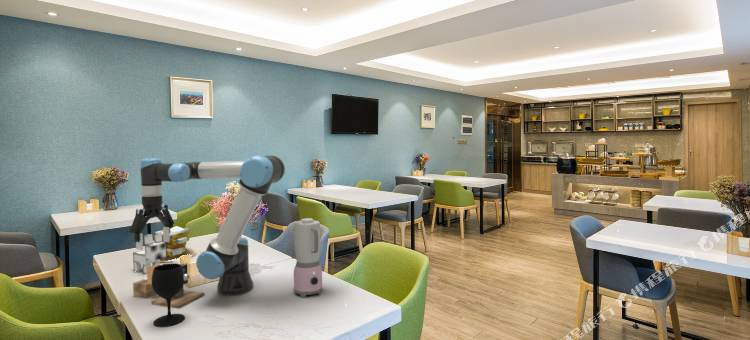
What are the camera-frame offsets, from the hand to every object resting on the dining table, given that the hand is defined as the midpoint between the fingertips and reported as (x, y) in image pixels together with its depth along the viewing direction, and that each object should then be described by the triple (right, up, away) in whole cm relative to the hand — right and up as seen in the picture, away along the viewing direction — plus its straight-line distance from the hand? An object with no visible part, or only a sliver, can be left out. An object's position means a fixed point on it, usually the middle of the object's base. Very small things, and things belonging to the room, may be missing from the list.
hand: (153, 245), depth 167 cm
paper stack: (-24, -19, +62) cm, 70 cm away
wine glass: (+18, -23, -22) cm, 37 cm away
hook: (+8, -16, -1) cm, 18 cm away
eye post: (+12, -21, -2) cm, 24 cm away
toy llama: (-22, -20, +36) cm, 47 cm away
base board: (+12, -22, -2) cm, 25 cm away
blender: (+65, -22, +4) cm, 69 cm away
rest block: (-5, -22, +3) cm, 23 cm away
